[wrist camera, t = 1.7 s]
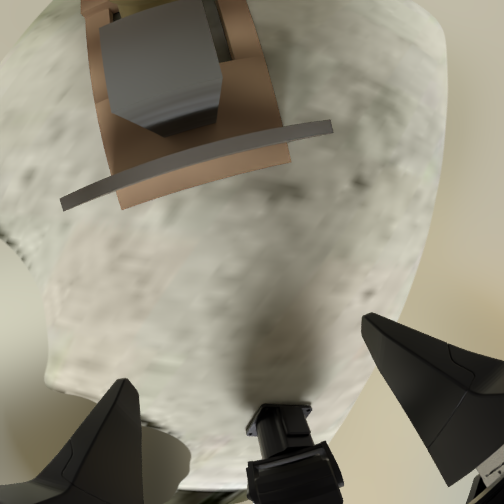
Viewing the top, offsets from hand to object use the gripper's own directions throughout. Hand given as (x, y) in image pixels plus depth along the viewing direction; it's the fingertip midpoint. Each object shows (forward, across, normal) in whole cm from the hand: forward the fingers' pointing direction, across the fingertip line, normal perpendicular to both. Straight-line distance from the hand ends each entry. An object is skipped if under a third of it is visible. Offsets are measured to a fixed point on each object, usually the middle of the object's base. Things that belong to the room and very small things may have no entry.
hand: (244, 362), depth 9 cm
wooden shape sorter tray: (+13, 0, -14) cm, 19 cm away
